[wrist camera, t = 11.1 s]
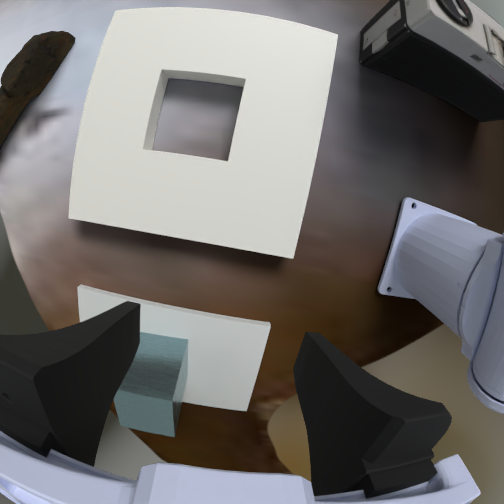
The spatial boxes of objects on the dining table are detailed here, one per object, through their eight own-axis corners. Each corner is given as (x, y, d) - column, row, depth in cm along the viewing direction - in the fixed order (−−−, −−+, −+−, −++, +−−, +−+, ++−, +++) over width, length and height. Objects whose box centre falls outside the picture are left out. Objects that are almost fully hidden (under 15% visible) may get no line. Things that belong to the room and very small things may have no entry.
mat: (269, 322, 22) (270, 326, 22) (246, 406, 25) (246, 411, 24) (80, 284, 21) (77, 287, 20) (90, 373, 23) (87, 376, 23)
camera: (482, 64, 16) (549, 48, 6) (476, 138, 18) (558, 140, 9) (368, -10, 14) (421, -68, 5) (352, 63, 17) (424, 8, 7)
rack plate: (329, 45, 16) (338, 34, 14) (288, 250, 20) (293, 258, 19) (124, 20, 15) (115, 10, 13) (81, 213, 19) (68, 218, 17)
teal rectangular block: (188, 339, 22) (172, 400, 15) (187, 376, 23) (174, 437, 16) (140, 331, 21) (110, 388, 15) (143, 368, 22) (120, 425, 16)
